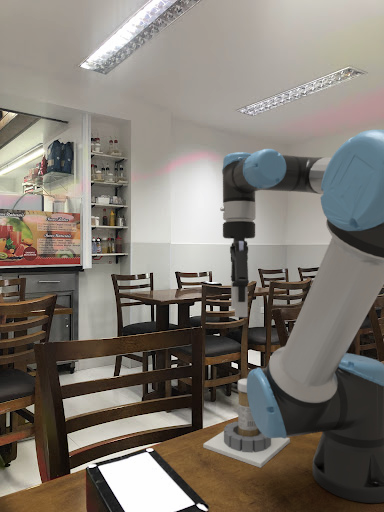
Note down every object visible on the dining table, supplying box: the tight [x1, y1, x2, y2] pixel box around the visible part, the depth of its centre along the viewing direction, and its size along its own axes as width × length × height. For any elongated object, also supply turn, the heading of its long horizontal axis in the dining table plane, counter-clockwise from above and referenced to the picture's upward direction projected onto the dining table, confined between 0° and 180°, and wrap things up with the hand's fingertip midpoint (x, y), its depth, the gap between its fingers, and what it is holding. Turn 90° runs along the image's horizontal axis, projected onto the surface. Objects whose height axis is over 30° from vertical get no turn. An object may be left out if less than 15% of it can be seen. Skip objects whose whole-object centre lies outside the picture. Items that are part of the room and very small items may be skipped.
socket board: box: [202, 421, 291, 469], centre depth 91 cm, size 14×14×3 cm
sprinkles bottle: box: [237, 378, 258, 437], centre depth 91 cm, size 5×5×14 cm
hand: (238, 312), depth 96 cm, fingers open, 13 cm apart
